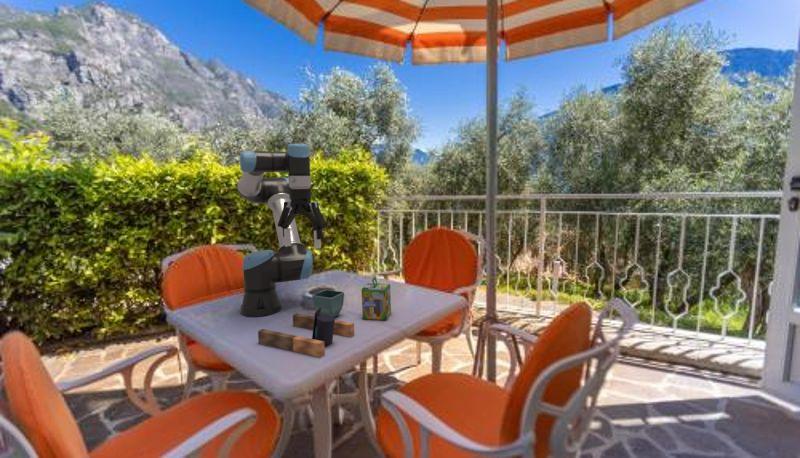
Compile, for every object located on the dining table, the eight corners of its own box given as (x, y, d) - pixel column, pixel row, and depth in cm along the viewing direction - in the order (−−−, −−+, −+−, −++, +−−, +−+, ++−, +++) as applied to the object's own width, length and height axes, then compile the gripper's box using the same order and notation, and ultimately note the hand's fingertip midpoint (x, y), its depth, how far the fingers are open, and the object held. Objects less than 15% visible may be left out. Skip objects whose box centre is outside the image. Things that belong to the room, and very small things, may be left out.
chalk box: (386, 321, 141) (385, 281, 139) (361, 319, 143) (360, 280, 141) (391, 312, 150) (391, 274, 148) (368, 311, 152) (367, 274, 150)
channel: (258, 343, 123) (257, 331, 122) (297, 324, 139) (296, 313, 138) (320, 357, 112) (320, 344, 112) (354, 334, 128) (354, 323, 128)
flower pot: (345, 314, 148) (345, 291, 147) (332, 322, 140) (331, 298, 139) (326, 311, 152) (325, 289, 151) (312, 319, 144) (311, 295, 143)
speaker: (305, 343, 122) (307, 311, 120) (316, 337, 127) (319, 307, 126) (325, 350, 118) (327, 317, 117) (336, 343, 124) (338, 312, 122)
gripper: (265, 188, 141) (269, 246, 143) (322, 188, 130) (324, 251, 133) (280, 188, 148) (283, 243, 150) (335, 187, 137) (337, 247, 139)
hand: (302, 247), depth 141 cm, fingers open, 13 cm apart
